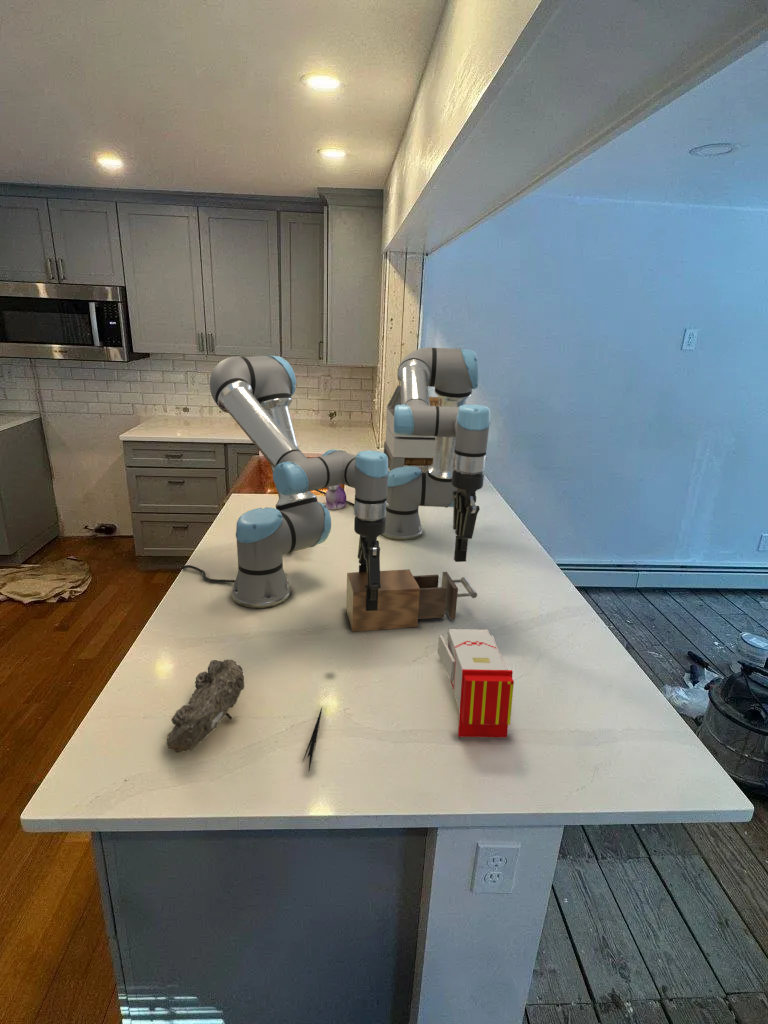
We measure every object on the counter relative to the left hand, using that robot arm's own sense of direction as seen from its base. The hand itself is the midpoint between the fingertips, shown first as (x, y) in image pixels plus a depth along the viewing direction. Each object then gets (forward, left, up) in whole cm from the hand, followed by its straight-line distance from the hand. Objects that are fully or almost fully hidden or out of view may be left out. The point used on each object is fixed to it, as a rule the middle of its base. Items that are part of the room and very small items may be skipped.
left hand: (367, 598), depth 142 cm
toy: (+30, -20, -6) cm, 36 cm away
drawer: (+15, +8, -5) cm, 18 cm away
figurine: (-39, +77, -6) cm, 87 cm away
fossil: (-16, -45, -6) cm, 48 cm away
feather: (+4, -38, -6) cm, 39 cm away
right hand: (+21, +11, +9) cm, 25 cm away
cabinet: (+3, +2, -6) cm, 7 cm away
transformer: (-21, +139, -6) cm, 140 cm away
